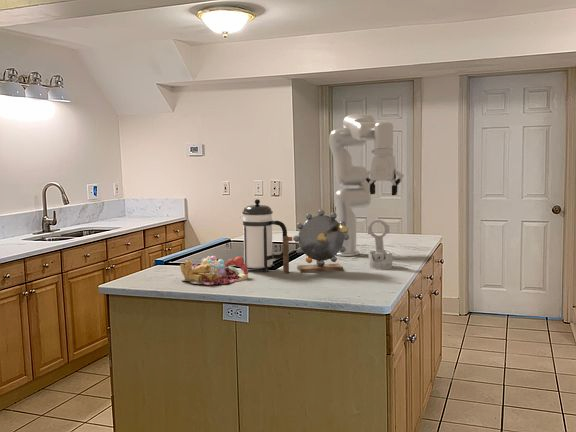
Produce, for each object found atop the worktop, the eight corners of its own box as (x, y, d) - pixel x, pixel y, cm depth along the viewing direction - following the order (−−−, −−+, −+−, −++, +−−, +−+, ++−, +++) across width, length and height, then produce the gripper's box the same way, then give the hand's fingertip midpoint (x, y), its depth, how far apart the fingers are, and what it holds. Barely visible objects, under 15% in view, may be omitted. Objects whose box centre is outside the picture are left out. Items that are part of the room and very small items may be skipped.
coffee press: (250, 274, 243) (249, 201, 239) (235, 268, 257) (234, 198, 254) (288, 270, 251) (287, 199, 247) (271, 264, 265) (270, 196, 262)
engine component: (390, 269, 250) (393, 265, 259) (390, 221, 248) (394, 218, 257) (364, 268, 253) (369, 263, 263) (364, 220, 251) (369, 217, 261)
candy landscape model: (217, 289, 220) (216, 264, 219) (170, 282, 232) (169, 259, 231) (256, 276, 241) (255, 254, 240) (210, 271, 253) (210, 249, 252)
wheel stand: (338, 266, 257) (337, 232, 255) (343, 270, 249) (343, 234, 248) (281, 269, 253) (280, 234, 251) (284, 273, 245) (283, 236, 243)
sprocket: (347, 263, 252) (347, 208, 249) (355, 268, 241) (355, 211, 239) (293, 266, 248) (292, 210, 245) (298, 271, 237) (298, 213, 234)
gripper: (360, 153, 245) (360, 194, 247) (399, 152, 235) (398, 196, 237) (368, 152, 251) (368, 193, 253) (407, 152, 241) (406, 194, 243)
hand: (383, 194), depth 245 cm, fingers open, 9 cm apart
